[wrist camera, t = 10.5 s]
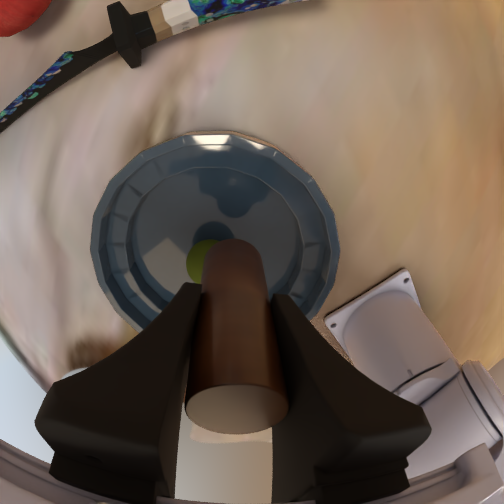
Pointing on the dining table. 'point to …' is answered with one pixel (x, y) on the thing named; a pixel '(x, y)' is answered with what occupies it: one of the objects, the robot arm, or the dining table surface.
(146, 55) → the dining table surface
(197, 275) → the olive
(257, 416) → the brown cylinder
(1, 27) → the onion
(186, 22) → the knife
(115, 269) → the bowl
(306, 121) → the dining table surface
